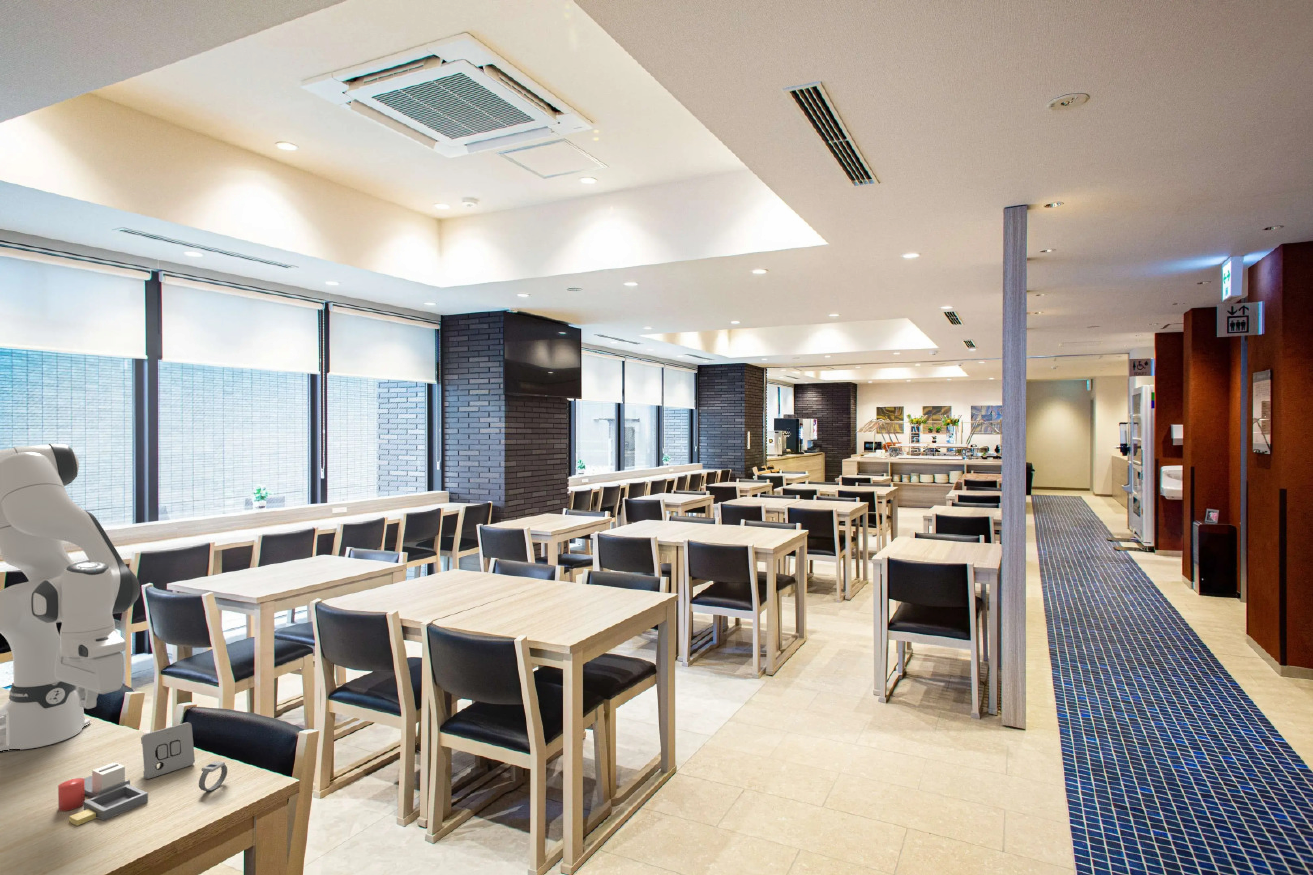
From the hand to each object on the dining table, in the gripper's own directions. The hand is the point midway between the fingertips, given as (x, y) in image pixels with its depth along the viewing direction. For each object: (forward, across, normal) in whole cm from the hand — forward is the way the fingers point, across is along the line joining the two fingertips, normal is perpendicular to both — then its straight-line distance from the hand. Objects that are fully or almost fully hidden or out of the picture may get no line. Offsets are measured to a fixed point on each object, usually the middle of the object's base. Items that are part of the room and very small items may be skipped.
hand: (87, 706), depth 142 cm
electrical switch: (+17, +6, +12) cm, 22 cm away
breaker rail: (+17, +2, +1) cm, 17 cm away
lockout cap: (+17, +5, -5) cm, 18 cm away
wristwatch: (+18, +24, +12) cm, 32 cm away
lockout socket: (+17, +13, -3) cm, 22 cm away
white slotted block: (+17, +6, +1) cm, 18 cm away
